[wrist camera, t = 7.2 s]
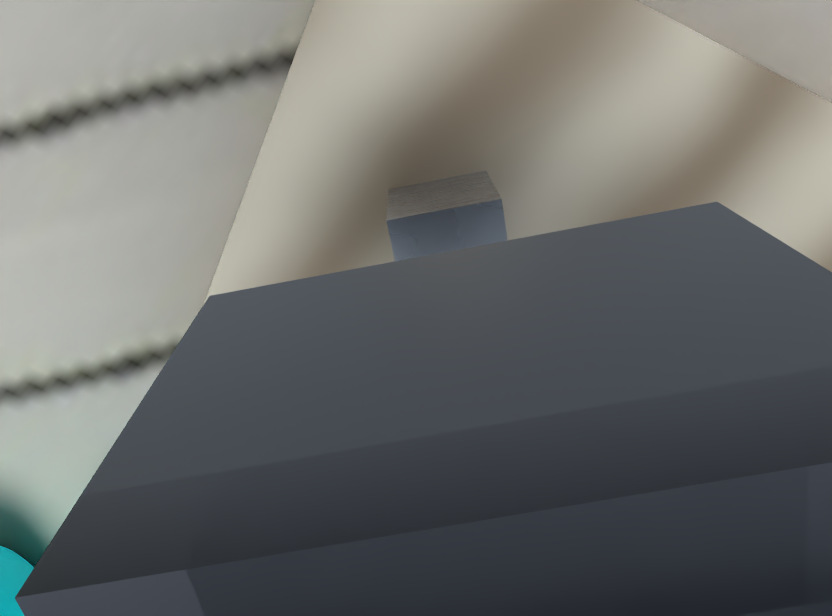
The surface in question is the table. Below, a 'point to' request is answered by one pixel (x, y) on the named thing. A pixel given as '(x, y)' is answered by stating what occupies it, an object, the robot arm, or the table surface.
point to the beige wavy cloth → (521, 129)
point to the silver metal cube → (444, 216)
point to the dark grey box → (482, 440)
